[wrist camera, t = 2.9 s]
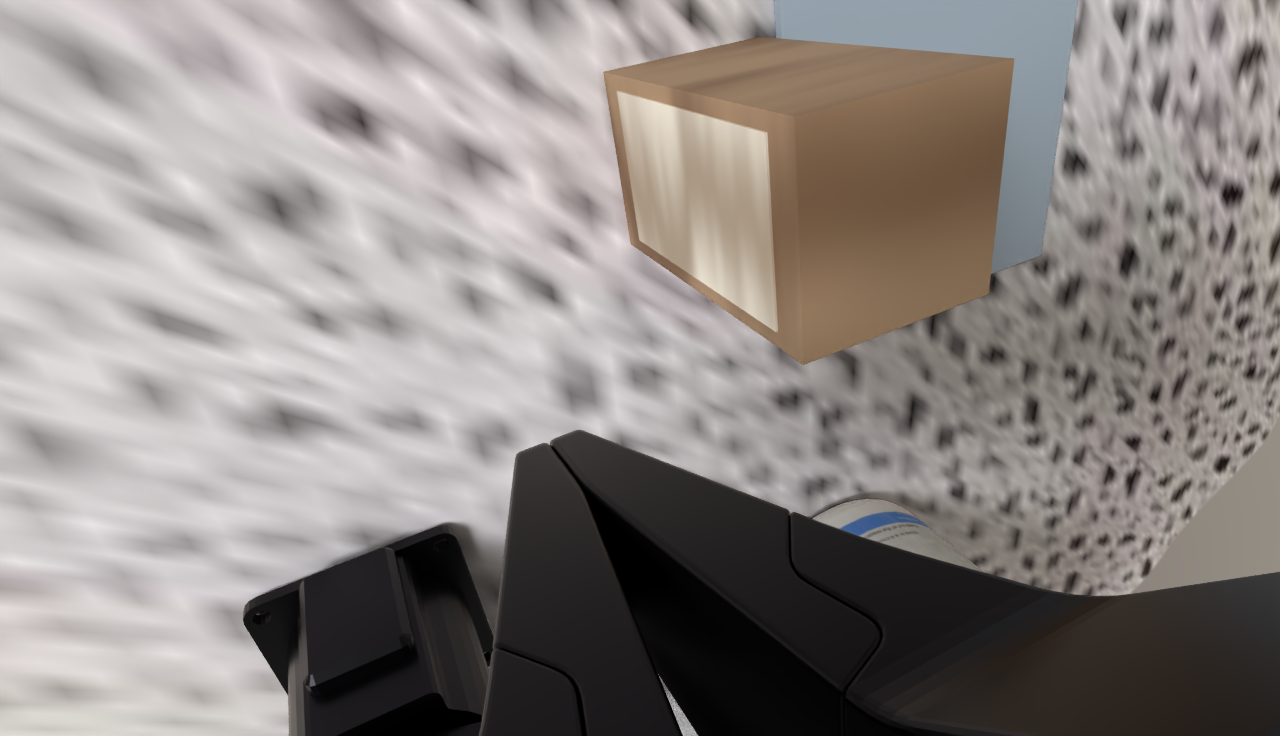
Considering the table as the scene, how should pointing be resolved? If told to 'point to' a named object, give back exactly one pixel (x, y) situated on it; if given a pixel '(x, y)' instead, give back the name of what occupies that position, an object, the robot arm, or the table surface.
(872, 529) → the supplement tub
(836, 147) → the brown rectangular block
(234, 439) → the table surface
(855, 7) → the pad
